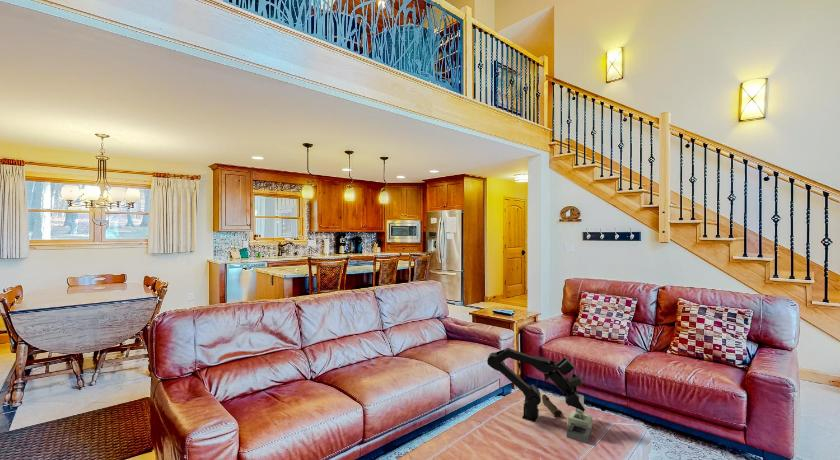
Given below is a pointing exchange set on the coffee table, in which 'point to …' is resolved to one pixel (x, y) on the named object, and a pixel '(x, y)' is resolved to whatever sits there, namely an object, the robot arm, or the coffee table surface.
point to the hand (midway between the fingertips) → (583, 406)
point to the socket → (579, 433)
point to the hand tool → (551, 406)
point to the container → (586, 422)
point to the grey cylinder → (579, 412)
